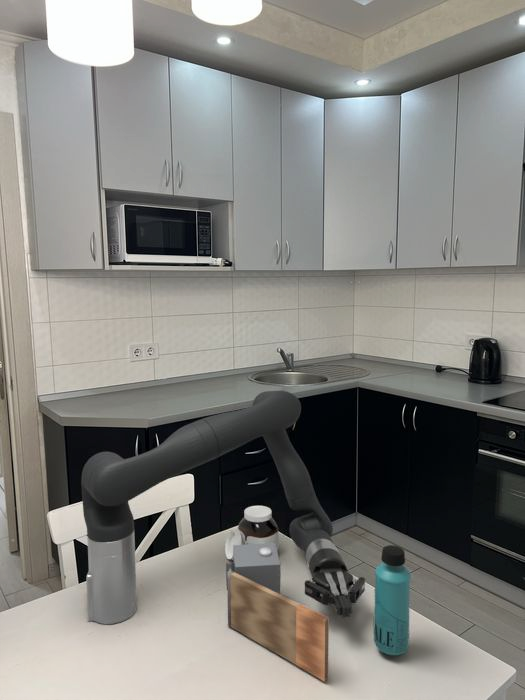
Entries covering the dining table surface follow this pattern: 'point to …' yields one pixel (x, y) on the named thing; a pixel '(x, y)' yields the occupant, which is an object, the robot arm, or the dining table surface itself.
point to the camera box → (257, 564)
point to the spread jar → (253, 530)
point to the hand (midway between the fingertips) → (346, 612)
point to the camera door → (279, 624)
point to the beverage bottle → (392, 602)
